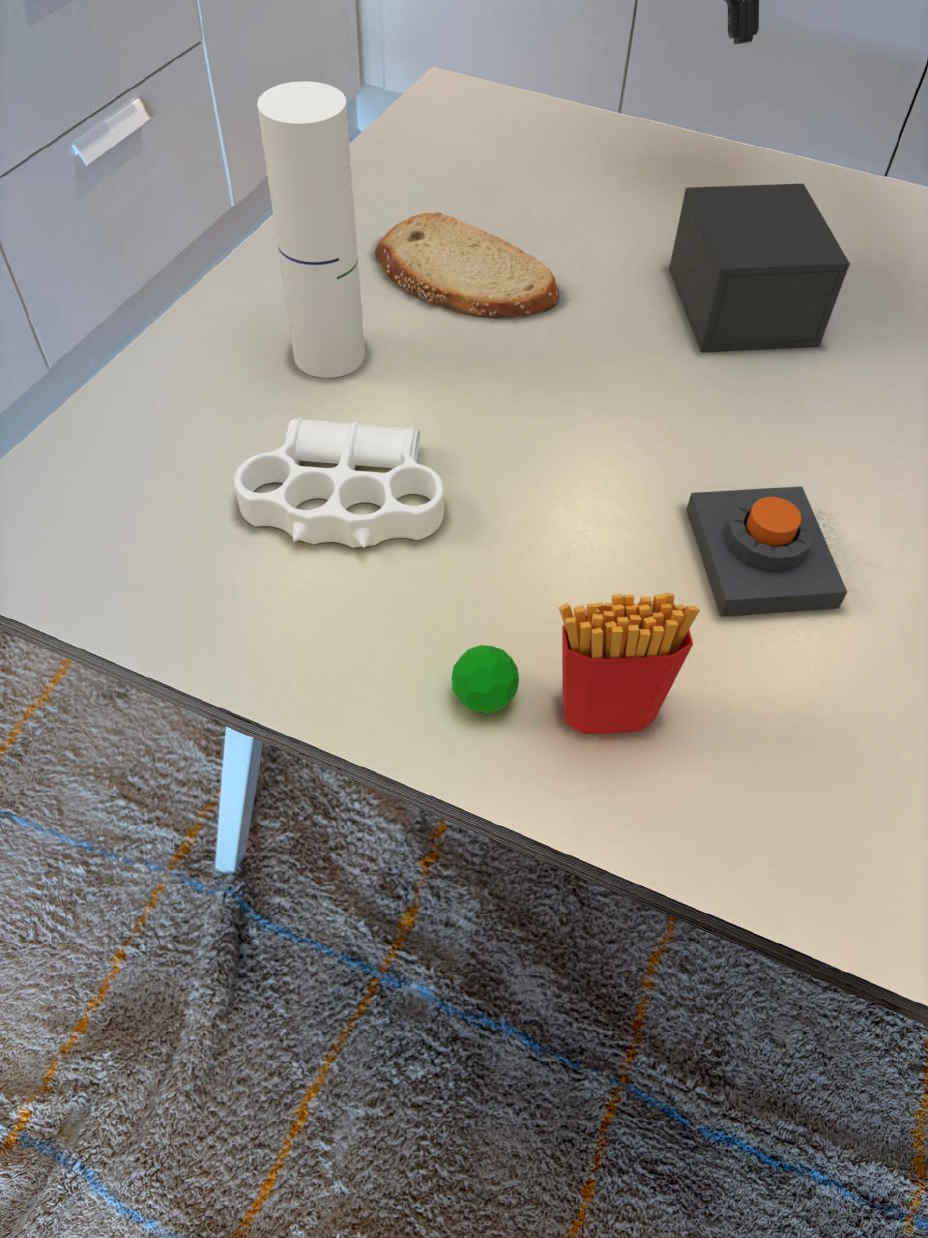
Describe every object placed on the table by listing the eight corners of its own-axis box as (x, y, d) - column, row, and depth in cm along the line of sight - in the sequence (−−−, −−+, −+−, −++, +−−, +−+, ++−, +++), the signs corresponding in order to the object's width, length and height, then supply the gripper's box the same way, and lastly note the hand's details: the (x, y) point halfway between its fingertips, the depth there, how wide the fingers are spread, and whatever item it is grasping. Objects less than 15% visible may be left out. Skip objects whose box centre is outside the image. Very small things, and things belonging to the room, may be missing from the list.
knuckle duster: (454, 448, 92) (436, 568, 83) (262, 432, 93) (224, 549, 84) (454, 420, 90) (436, 541, 81) (257, 404, 90) (217, 522, 81)
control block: (685, 509, 88) (695, 477, 85) (795, 503, 89) (808, 470, 86) (720, 617, 81) (731, 585, 78) (839, 608, 82) (855, 577, 78)
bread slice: (567, 311, 105) (571, 280, 102) (401, 334, 102) (400, 303, 99) (520, 220, 116) (523, 189, 113) (368, 238, 113) (366, 208, 110)
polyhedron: (519, 722, 74) (524, 687, 70) (454, 726, 74) (455, 691, 70) (512, 667, 77) (516, 631, 74) (449, 671, 77) (450, 634, 73)
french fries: (659, 683, 77) (693, 575, 66) (670, 731, 74) (707, 626, 64) (541, 689, 76) (557, 581, 66) (548, 738, 74) (566, 633, 63)
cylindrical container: (284, 342, 101) (246, 89, 81) (351, 326, 103) (329, 75, 83) (306, 385, 97) (271, 130, 77) (375, 367, 99) (358, 113, 79)
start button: (740, 512, 83) (745, 497, 82) (787, 509, 83) (793, 494, 82) (753, 548, 81) (759, 533, 79) (801, 545, 81) (808, 530, 79)
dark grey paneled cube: (668, 269, 110) (685, 187, 103) (778, 264, 111) (803, 182, 104) (700, 352, 102) (721, 268, 94) (819, 346, 103) (850, 263, 95)
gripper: (682, -165, 92) (687, 49, 100) (826, -186, 92) (819, 30, 99) (666, -145, 99) (672, 54, 107) (800, -165, 98) (796, 36, 106)
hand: (743, 42), depth 103 cm, fingers closed
